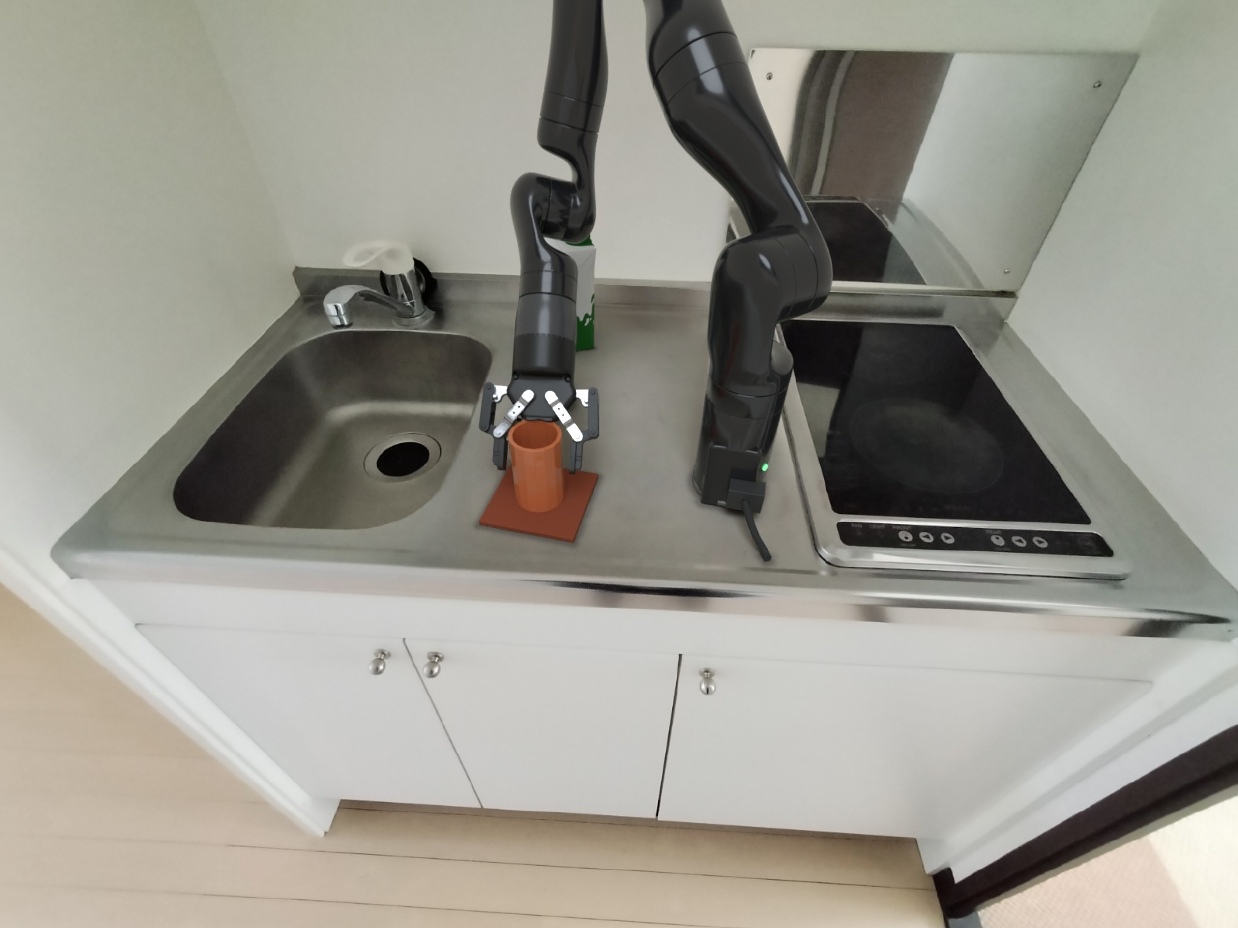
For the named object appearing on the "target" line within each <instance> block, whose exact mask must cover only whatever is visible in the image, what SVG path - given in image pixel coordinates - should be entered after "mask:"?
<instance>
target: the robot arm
mask: <svg viewBox="0 0 1238 928" xmlns="http://www.w3.org/2000/svg"><path fill="white" fill-rule="evenodd" d="M642 3H643V7H644V13H645V37H644V38H645V44H644V45H645V47H644V50H645V51H644V52H645V61H646V68H647V72H648V77H649V79H650V83H651V86H652V89H653V91H654V94H655V96H656V97H655V98H656V99H657V102H658V105H659V107H660V110H661V112H662V115H663V117H664V121H665V122H666V125H667V127H668V129H669V131H670V133H671V135H672V137H673V138H674V139H675V140H676V142H677V143H678V144H679V146H680V147H681V148H682V149H683V151H685V153H686V154H687V155H688V156H689V157H690V158H691V159H692V160H693V161H694V162H695V163H696V164H697V165H699V167H701V168H702V169H703V170H704V171H705V172H706V173H707V174H708V175H709V176H710V177H711V178H713V179H714V180H715V181H716V182H717V183H718V184H719V185H720V186H721V187H722V188H723V189H724V190H725V191H726V193H727V194H728V195H729V197H730V198H731V199H732V200H733V202H734V203H735V205H736V206H737V208H738V209H739V211H740V213H741V216H742V218H743V220H744V222H745V224H746V226H747V229H748V231H749V233H750V234H748V235H743V236H741V237H737V238H735V239H733V240H731V241H729V242H728V243H726V245H724V246H723V247H722V249H721V250H720V252H719V254H718V256H717V258H716V260H715V263H714V266H713V271H712V276H711V283H710V293H709V294H710V295H709V303H708V304H709V306H708V319H707V330H706V342H707V343H706V344H707V351H708V354H709V367H708V375H707V381H706V387H705V393H704V401H703V407H702V414H701V422H700V428H699V435H698V441H697V447H696V448H697V449H696V455H695V462H694V463H695V464H694V469H693V473H692V485H693V488H694V490H695V492H696V493H697V494H698V495H699V496H700V503H701V504H706V505H707V504H708V505H713V506H718V507H724V508H725V509H731V510H738V511H743V515H744V518H745V522H746V524H747V528H748V530H749V532H750V535H751V538H752V540H753V541H754V544H755V545H756V546H757V549H758V550H759V552H760V554H761V555H762V557H763V560H764V561H765V562H769V561H771V560H772V558H773V556H772V555H771V553H770V551H769V549H768V547H767V545H766V544H765V542H764V541H763V540H764V539H762V537H761V535H760V533H759V530H758V528H757V527H758V526H757V525H756V522H755V519H754V516H753V513H754V514H760V515H761V513H762V510H763V505H764V501H765V497H766V487H767V486H766V485H767V483H766V478H767V473H768V470H769V464H770V461H771V457H772V454H773V451H774V445H775V442H776V437H777V434H778V430H779V426H780V422H781V418H782V414H783V409H784V406H785V404H786V399H787V395H788V390H789V387H790V383H791V379H792V376H793V375H792V374H793V371H794V367H795V362H794V357H793V354H792V352H791V351H790V350H789V348H787V347H786V346H785V345H784V344H783V343H781V342H779V341H777V340H775V339H774V338H775V333H776V328H777V325H778V324H782V323H784V322H787V321H790V320H793V319H795V318H798V317H801V316H803V315H806V314H809V313H812V312H813V311H815V310H817V309H819V308H820V307H821V306H822V305H823V304H824V303H825V302H826V301H827V299H828V297H829V294H830V293H831V290H832V285H833V280H834V279H833V278H834V277H833V275H834V272H833V263H832V258H831V254H830V250H829V247H828V244H827V242H826V240H825V237H824V236H823V234H822V231H821V230H820V227H819V225H818V223H817V221H816V219H815V217H814V215H813V213H812V212H811V210H810V208H809V206H808V204H807V202H806V199H805V198H804V196H803V194H802V192H801V190H800V188H799V187H798V184H797V182H796V181H795V179H794V176H793V175H792V172H791V171H790V168H789V165H788V164H787V161H786V159H785V158H784V155H783V153H782V151H781V148H780V145H779V143H778V140H777V138H776V136H775V133H774V130H773V128H772V126H771V124H770V123H771V122H770V121H769V119H768V116H767V114H766V111H765V109H764V107H763V104H762V101H761V99H760V97H759V94H758V91H757V88H756V84H755V81H754V79H753V76H752V73H751V69H750V67H749V64H748V61H747V59H746V56H745V54H744V51H743V49H742V45H741V43H740V40H739V38H738V35H737V34H736V31H735V29H734V26H733V24H732V22H731V20H730V17H729V15H728V12H727V10H726V8H725V5H724V2H723V0H642ZM551 15H552V16H551V29H550V30H551V32H550V43H549V44H550V45H549V51H548V60H547V61H548V62H547V67H546V74H545V80H544V81H545V82H544V85H543V91H542V92H543V93H542V97H541V105H540V111H539V118H538V122H537V128H536V141H537V145H538V146H539V148H541V149H542V150H544V151H545V152H547V153H548V154H551V155H553V156H555V157H557V158H559V159H561V160H563V161H564V162H565V163H567V165H568V166H569V168H570V172H571V180H568V179H564V178H560V177H554V176H550V175H546V174H543V173H539V172H533V171H529V172H528V171H527V172H525V173H522V174H521V175H519V176H518V177H517V179H516V180H515V182H514V183H513V185H512V187H511V190H510V194H509V209H510V210H509V211H510V215H511V216H510V217H511V221H512V227H513V230H514V234H515V235H514V236H515V238H516V243H517V249H518V255H519V264H520V268H519V269H520V273H519V274H520V275H519V289H518V303H517V309H516V313H515V319H514V332H513V333H514V335H513V347H512V348H513V351H512V365H511V378H510V382H509V383H508V385H498V384H493V382H490V381H487V382H485V383H484V385H483V388H482V389H483V390H482V398H481V405H480V411H479V419H478V420H479V421H478V429H479V431H481V432H483V433H485V434H487V435H489V436H491V437H492V439H493V446H492V447H493V448H492V463H493V465H494V466H496V469H497V471H504V472H507V470H508V468H507V467H508V454H509V440H508V434H509V431H510V429H511V428H512V427H513V426H514V425H516V424H517V423H519V422H521V421H524V420H527V421H536V420H543V421H546V422H554V423H558V422H559V421H560V422H561V423H562V424H563V427H565V429H566V431H567V432H568V434H569V435H570V436H571V439H572V441H571V442H570V443H569V444H570V445H569V447H570V448H569V461H568V469H569V474H575V475H576V470H579V471H581V469H582V467H583V456H584V445H585V444H586V442H589V441H592V440H597V439H599V437H600V395H599V394H600V393H599V390H598V388H596V387H593V386H592V387H590V388H588V389H576V387H575V372H576V371H575V369H576V354H577V353H576V352H577V351H576V342H577V315H576V301H577V283H578V267H577V263H576V262H575V260H574V259H573V258H572V257H571V256H569V255H567V254H566V253H564V252H562V251H560V250H557V249H556V248H554V247H552V246H551V245H549V244H548V243H547V242H546V240H545V239H544V237H545V238H549V239H554V240H559V241H563V242H568V243H581V242H582V241H584V240H585V239H586V238H587V237H588V236H589V235H590V236H591V233H592V232H593V230H594V227H595V224H596V220H597V219H596V218H597V201H596V200H597V199H596V198H597V197H596V180H595V178H596V177H595V176H596V173H595V172H596V171H595V170H596V153H597V151H596V150H597V143H598V139H599V133H600V130H601V124H602V119H603V115H604V110H605V104H606V99H607V94H608V85H609V51H608V45H607V44H608V43H607V41H608V40H607V34H606V25H605V24H606V23H605V11H604V0H552V14H551ZM506 396H507V398H508V399H509V400H510V403H511V404H512V407H510V409H509V410H508V411H507V413H505V415H504V416H503V419H502V420H501V421H500V422H499V423H498V425H495V419H496V412H497V404H500V403H502V401H503V399H504V397H506ZM577 399H579V400H580V401H581V404H582V406H583V407H584V408H586V409H587V428H586V429H583V430H581V429H579V427H578V426H577V424H576V423H575V421H574V419H573V418H572V417H571V415H570V413H568V411H569V410H570V409H571V408H572V407H573V406H574V404H575V402H576V401H577ZM571 406H572V407H571ZM570 407H571V408H570ZM569 408H570V409H569Z"/></svg>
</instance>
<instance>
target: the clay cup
mask: <svg viewBox="0 0 1238 928" xmlns="http://www.w3.org/2000/svg"><path fill="white" fill-rule="evenodd" d="M507 440H508V449H509V457H510V464H512V472H513V480H514V488H515V495H516V501H517V503H518V504H519V506H520V507H522V508H523V509H525V510H527V511H530V512H534V513H542V512H548V511H551V510H553V509H555V508H556V507H558V506H559V505H560V504H561V503H562V501H563V499H564V496H565V483H564V468H565V466H564V445H563V444H564V442H563V433H562V429H561V427H560V426H559V425H558V424H557V422H546V421H543V420H536V421H527V420H524V419H523V421H521V422H519V423H517V424H516V425H514V426H513V427H512V428H511V429H510V431H509V434H508V437H507Z"/></svg>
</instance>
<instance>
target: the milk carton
mask: <svg viewBox="0 0 1238 928" xmlns="http://www.w3.org/2000/svg"><path fill="white" fill-rule="evenodd" d="M544 239H545V240H546V242H547V243H548V244H549V245H551V246H552V247H554V248H556V249H557V250H560V251H562V252H564V253H566V254H567V255H569V256H571V257H572V258H573V259H574V260H575V262H576V263H577V267H578V283H577V301H576V315H577V342H576V352H579V351H580V352H581V351H586V350H591V349H594V348H595V268H596V267H595V266H596V257H597V256H596V255H597V247H595V245H594V243H593V240H592V238H591V234H590V235H589V236H588V237H587V238H586V239H585V240H584V241H582V242H581V243H568V242H563V241H559V240H554V239H549V238H545V237H544Z"/></svg>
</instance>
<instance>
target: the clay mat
mask: <svg viewBox="0 0 1238 928" xmlns="http://www.w3.org/2000/svg"><path fill="white" fill-rule="evenodd" d="M598 480H599V473H595V472H590V471H585V470H576V475H575V474H569V468H567V467H564V483H565V496H564V499H563V501H562V503H561V504H560V505H559V506H558V507H556V508H555V509H553V510H551V511H548V512H542V513H534V512H530V511H527V510H525V509H523V508H522V507H520V506H519V504H518V503H517V501H516V495H515V488H514V480H513V472H512V464H511V463H510V464H509V467H508V468H507V469H506V471H505V474H504V475H503V477H502V478H501V480H500V482H499V484H498V485H497V488H496V489H495V492H494V493H493V495H492V497H491V499H490V501H489V502H488V503H487V506H486V507H485V509H484V511H483V513H482V515H481V517H479V518H480V519H479V520H478V525H480V526H484V527H489V528H494V529H500V530H504V531H505V530H506V531H511V532H516V533H521V534H526V535H532V536H536V537H541V538H545V539H552V540H555V541H556V540H557V541H563V542H567V543H571V544H574V543H575V540H576V537H577V535H578V532H579V529H580V527H581V524H582V522H583V519H584V516H585V514H586V511H587V508H588V506H589V503H590V502H591V501H590V500H591V498H592V495H593V494H594V493H593V492H594V490H595V487H596V485H597V482H598Z"/></svg>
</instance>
